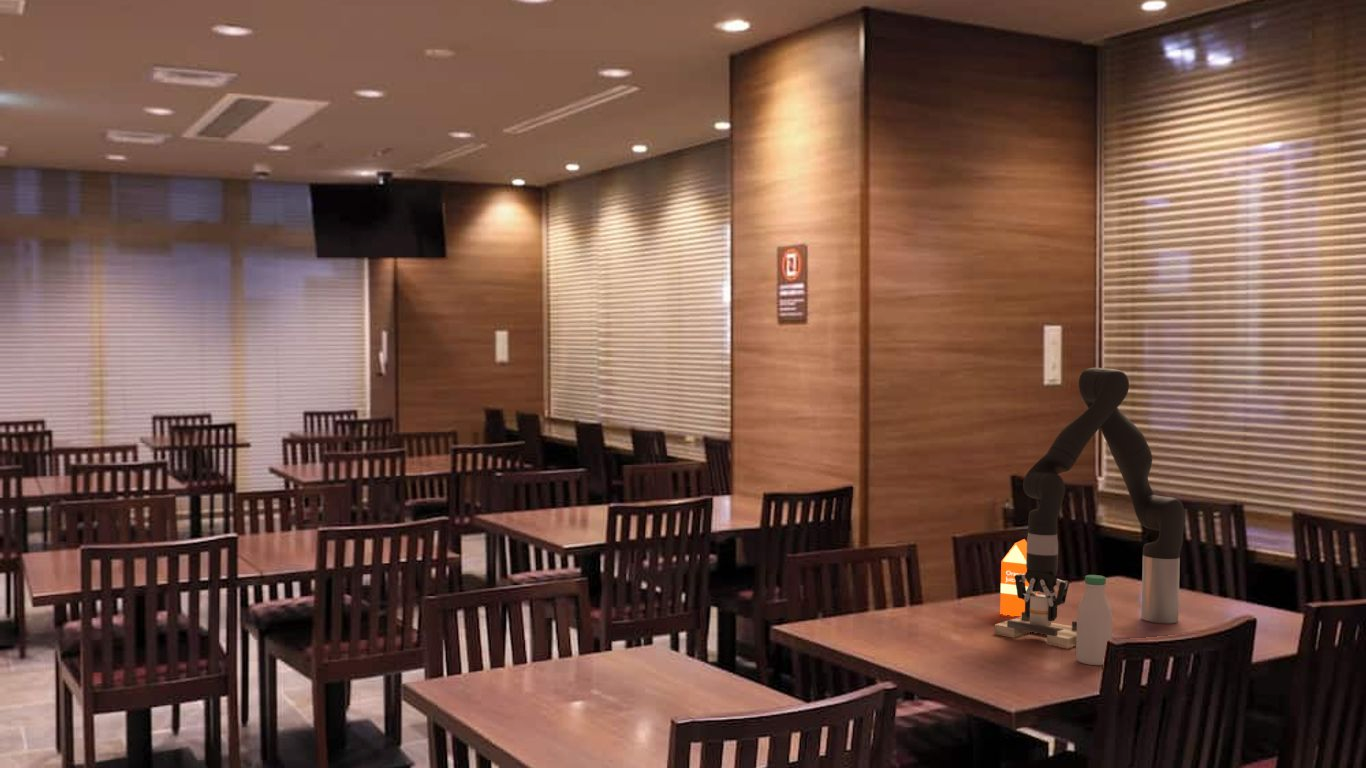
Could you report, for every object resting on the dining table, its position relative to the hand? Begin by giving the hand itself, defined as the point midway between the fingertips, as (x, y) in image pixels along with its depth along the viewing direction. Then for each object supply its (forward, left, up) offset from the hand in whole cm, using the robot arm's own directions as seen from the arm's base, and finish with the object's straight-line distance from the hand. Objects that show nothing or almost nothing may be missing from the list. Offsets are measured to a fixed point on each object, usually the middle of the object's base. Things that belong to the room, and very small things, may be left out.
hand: (1040, 618), depth 303 cm
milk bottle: (+12, +20, -5) cm, 24 cm away
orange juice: (-21, -18, -5) cm, 28 cm away
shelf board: (-2, 0, -5) cm, 5 cm away
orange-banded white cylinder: (0, 0, -1) cm, 1 cm away
